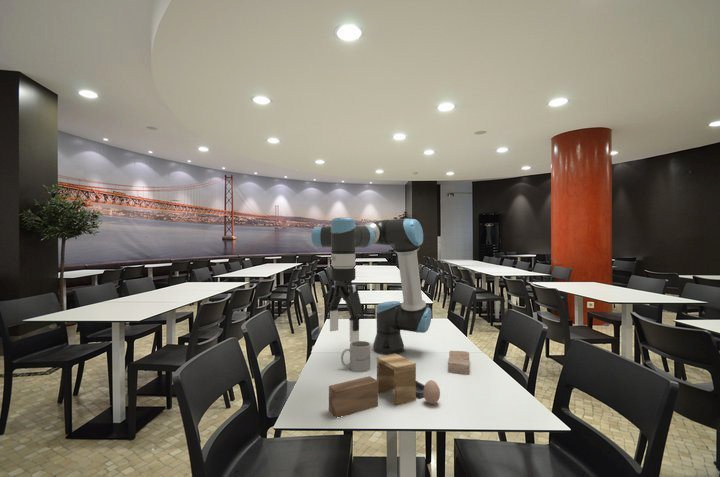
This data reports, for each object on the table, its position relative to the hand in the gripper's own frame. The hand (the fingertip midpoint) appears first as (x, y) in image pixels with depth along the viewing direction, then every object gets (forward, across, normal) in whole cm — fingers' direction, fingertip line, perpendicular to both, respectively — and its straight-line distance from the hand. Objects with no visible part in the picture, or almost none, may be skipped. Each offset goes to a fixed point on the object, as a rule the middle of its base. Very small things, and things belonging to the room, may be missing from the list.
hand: (343, 335), depth 103 cm
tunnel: (+23, 0, +20) cm, 31 cm away
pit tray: (+24, 0, +28) cm, 37 cm away
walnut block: (+23, 0, +3) cm, 24 cm away
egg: (+24, +10, +27) cm, 37 cm away
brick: (+24, -9, +59) cm, 65 cm away
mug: (+24, -29, +21) cm, 43 cm away
